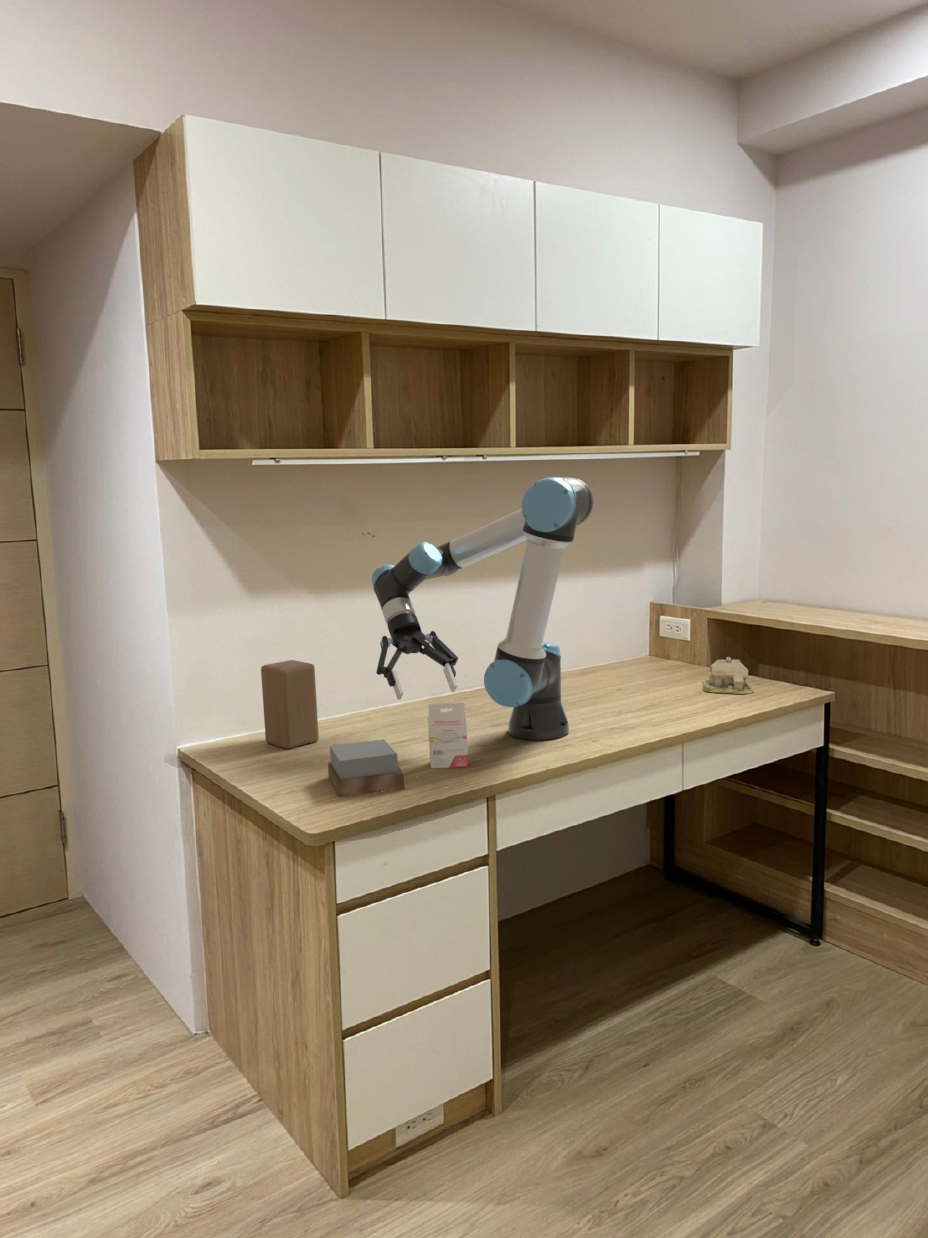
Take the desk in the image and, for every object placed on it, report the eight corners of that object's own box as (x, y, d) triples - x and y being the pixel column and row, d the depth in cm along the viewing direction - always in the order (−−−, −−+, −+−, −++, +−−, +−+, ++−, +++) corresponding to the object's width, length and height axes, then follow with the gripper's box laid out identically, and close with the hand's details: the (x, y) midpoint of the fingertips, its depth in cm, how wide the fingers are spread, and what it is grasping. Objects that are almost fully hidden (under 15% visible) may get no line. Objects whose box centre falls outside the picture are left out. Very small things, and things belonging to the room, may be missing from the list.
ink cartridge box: (468, 761, 213) (465, 698, 211) (468, 767, 208) (466, 703, 206) (430, 762, 213) (427, 699, 211) (429, 768, 208) (427, 704, 206)
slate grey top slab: (384, 756, 207) (383, 739, 206) (398, 772, 195) (397, 753, 195) (330, 763, 203) (329, 745, 202) (341, 779, 192) (340, 760, 191)
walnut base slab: (391, 772, 209) (390, 755, 208) (404, 791, 195) (403, 773, 195) (328, 779, 205) (327, 762, 204) (337, 799, 191) (336, 781, 191)
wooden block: (264, 743, 234) (259, 665, 231) (297, 735, 241) (292, 658, 238) (286, 750, 227) (281, 669, 224) (320, 741, 234) (315, 663, 231)
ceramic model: (749, 686, 278) (749, 653, 277) (755, 695, 267) (755, 660, 266) (701, 686, 281) (701, 654, 279) (705, 695, 270) (705, 661, 268)
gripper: (444, 625, 236) (471, 694, 225) (349, 635, 225) (373, 708, 214) (452, 606, 230) (480, 677, 219) (355, 615, 220) (380, 690, 209)
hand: (427, 692), depth 217 cm, fingers open, 13 cm apart
